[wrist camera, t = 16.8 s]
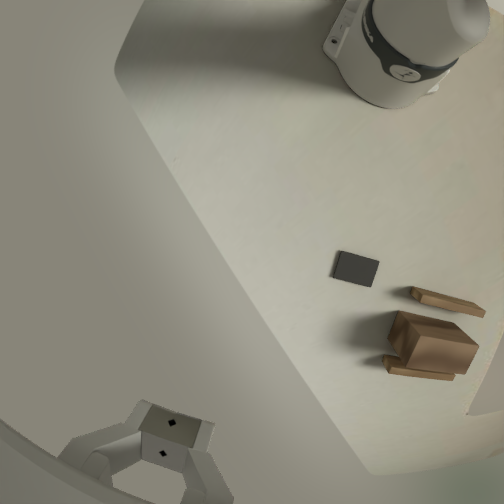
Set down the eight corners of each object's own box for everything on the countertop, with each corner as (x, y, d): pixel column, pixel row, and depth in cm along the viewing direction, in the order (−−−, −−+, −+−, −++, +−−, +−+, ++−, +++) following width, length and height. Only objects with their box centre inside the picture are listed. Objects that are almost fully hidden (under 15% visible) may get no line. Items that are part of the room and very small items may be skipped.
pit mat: (341, 250, 42) (341, 251, 42) (378, 261, 42) (379, 261, 42) (333, 277, 43) (333, 277, 43) (370, 286, 43) (370, 287, 43)
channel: (412, 286, 42) (422, 294, 38) (474, 303, 42) (485, 311, 38) (381, 360, 45) (388, 373, 41) (443, 369, 45) (452, 380, 41)
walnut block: (398, 310, 43) (420, 335, 35) (453, 322, 43) (479, 346, 34) (387, 338, 44) (405, 367, 36) (442, 348, 44) (465, 374, 35)
